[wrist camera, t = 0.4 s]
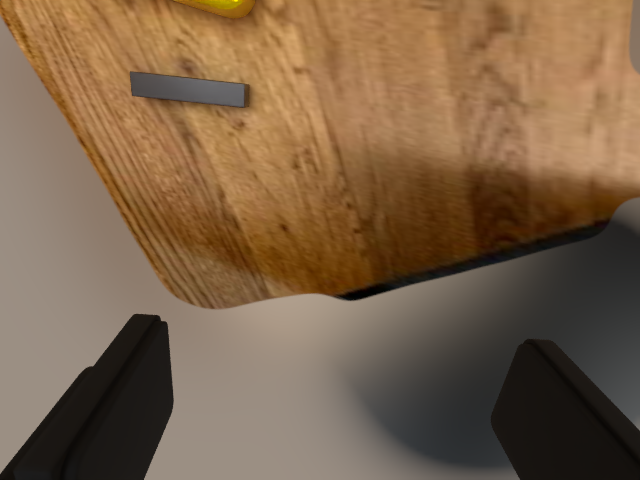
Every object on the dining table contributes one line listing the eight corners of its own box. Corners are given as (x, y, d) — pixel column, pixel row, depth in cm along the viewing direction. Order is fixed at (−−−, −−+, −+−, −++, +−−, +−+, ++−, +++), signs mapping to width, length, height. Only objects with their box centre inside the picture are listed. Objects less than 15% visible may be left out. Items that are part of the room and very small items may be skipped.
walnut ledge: (141, 72, 34) (129, 71, 31) (249, 84, 34) (244, 84, 32) (143, 95, 34) (131, 95, 32) (248, 106, 35) (244, 107, 33)
